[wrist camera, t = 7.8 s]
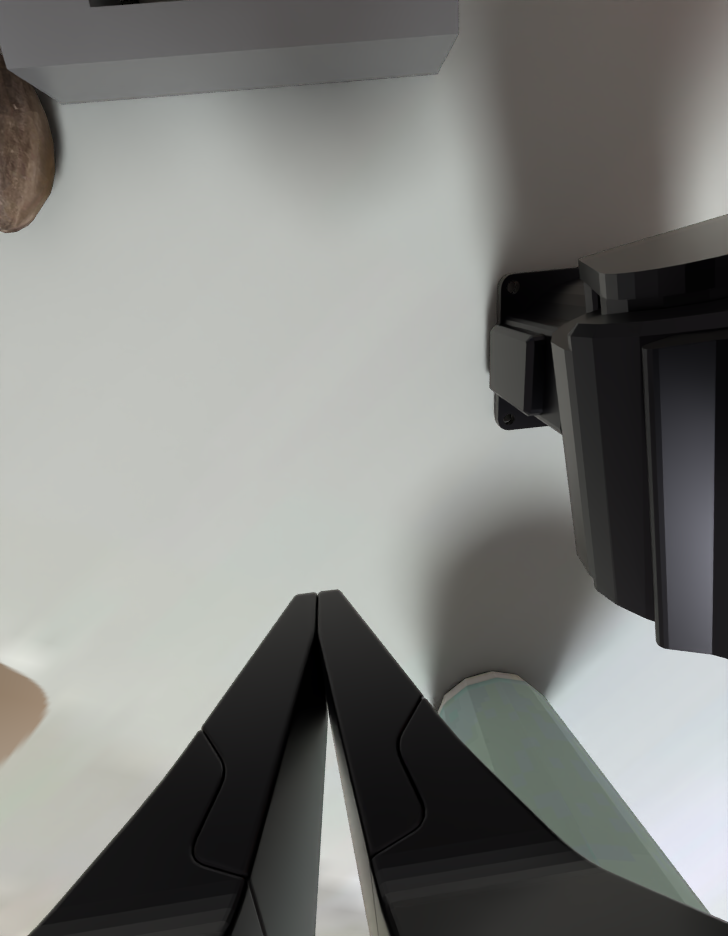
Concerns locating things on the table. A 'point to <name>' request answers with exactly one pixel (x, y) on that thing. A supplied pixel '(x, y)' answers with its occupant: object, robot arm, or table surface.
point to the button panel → (218, 44)
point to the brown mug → (22, 152)
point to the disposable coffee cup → (557, 778)
